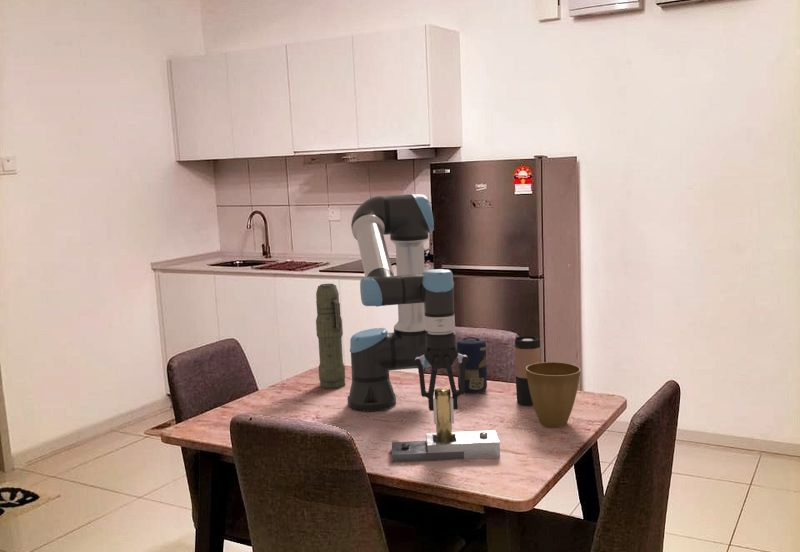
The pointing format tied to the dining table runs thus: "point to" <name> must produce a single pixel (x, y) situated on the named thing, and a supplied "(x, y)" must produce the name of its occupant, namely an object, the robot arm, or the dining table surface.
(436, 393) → the pin
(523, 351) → the travel mug
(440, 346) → the robot arm
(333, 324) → the thermos
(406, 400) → the dining table surface
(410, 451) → the door bolt
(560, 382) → the plant pot
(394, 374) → the dining table surface
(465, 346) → the canister
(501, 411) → the dining table surface
